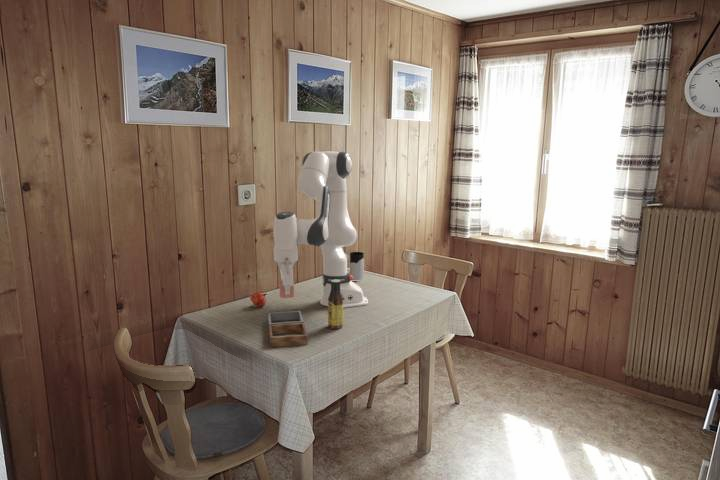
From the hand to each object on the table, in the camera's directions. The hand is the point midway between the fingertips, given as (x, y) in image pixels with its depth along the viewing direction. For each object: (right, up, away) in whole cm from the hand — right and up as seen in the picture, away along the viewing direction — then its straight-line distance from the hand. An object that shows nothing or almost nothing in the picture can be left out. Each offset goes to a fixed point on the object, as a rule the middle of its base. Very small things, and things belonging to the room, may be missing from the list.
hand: (286, 291), depth 191 cm
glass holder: (+24, -2, +90) cm, 93 cm away
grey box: (-3, -16, +18) cm, 24 cm away
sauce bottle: (+18, -16, +16) cm, 29 cm away
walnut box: (0, -19, +4) cm, 19 cm away
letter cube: (0, -2, 0) cm, 2 cm away
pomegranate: (-19, -12, +41) cm, 47 cm away
